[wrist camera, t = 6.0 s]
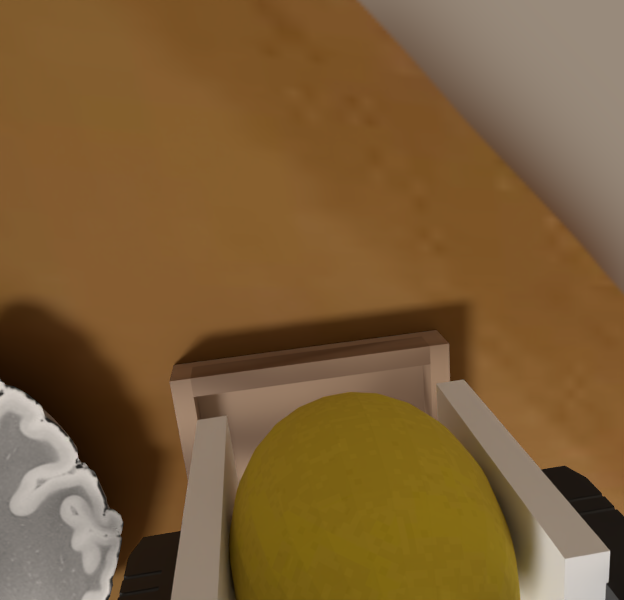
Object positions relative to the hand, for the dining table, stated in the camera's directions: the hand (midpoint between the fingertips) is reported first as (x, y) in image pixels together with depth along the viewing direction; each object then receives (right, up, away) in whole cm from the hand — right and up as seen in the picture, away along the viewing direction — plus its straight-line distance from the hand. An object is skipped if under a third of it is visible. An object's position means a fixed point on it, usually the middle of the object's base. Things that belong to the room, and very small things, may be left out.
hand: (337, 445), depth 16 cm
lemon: (0, 0, 0) cm, 1 cm away
